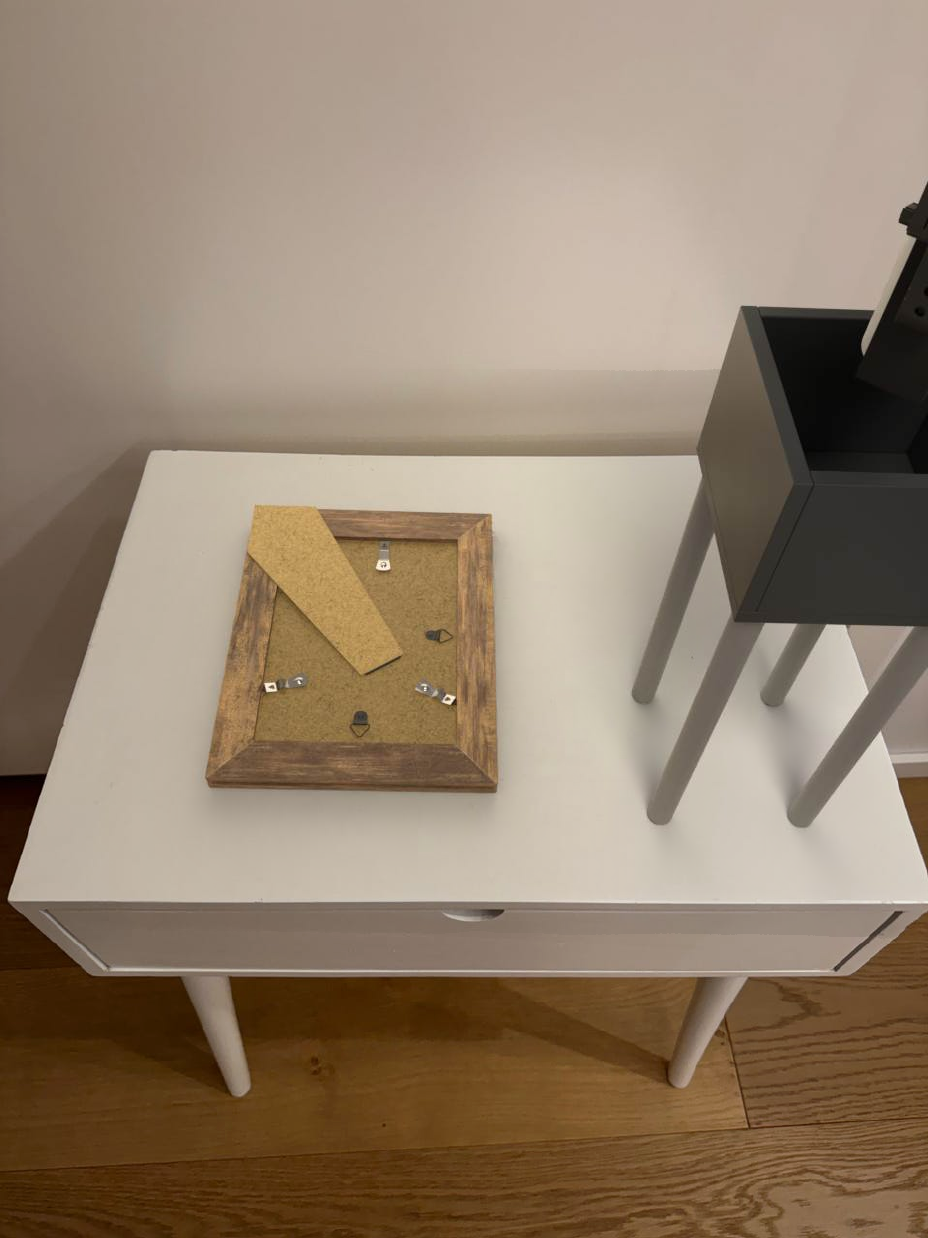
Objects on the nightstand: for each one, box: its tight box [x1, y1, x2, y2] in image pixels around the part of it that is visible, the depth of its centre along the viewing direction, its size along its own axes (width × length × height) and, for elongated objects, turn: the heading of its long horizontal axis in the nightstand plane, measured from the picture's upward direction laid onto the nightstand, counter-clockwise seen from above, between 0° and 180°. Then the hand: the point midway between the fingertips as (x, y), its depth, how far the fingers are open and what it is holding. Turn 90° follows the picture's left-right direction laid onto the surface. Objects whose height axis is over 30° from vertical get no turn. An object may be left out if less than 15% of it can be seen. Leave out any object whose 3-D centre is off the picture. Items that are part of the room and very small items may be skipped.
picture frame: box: [204, 504, 499, 794], centre depth 68 cm, size 19×2×24 cm
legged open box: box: [631, 305, 928, 829], centre depth 52 cm, size 12×12×31 cm
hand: (916, 355), depth 39 cm, fingers closed on pill bottle, 4 cm apart
